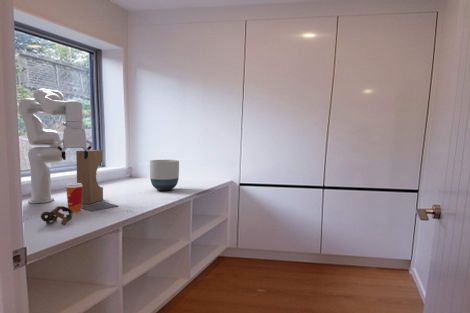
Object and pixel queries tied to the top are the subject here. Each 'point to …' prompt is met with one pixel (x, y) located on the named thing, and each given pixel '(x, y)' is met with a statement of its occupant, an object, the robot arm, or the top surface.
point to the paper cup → (74, 196)
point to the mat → (98, 206)
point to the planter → (164, 174)
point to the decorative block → (89, 176)
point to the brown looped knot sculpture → (57, 215)
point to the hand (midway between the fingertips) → (75, 159)
